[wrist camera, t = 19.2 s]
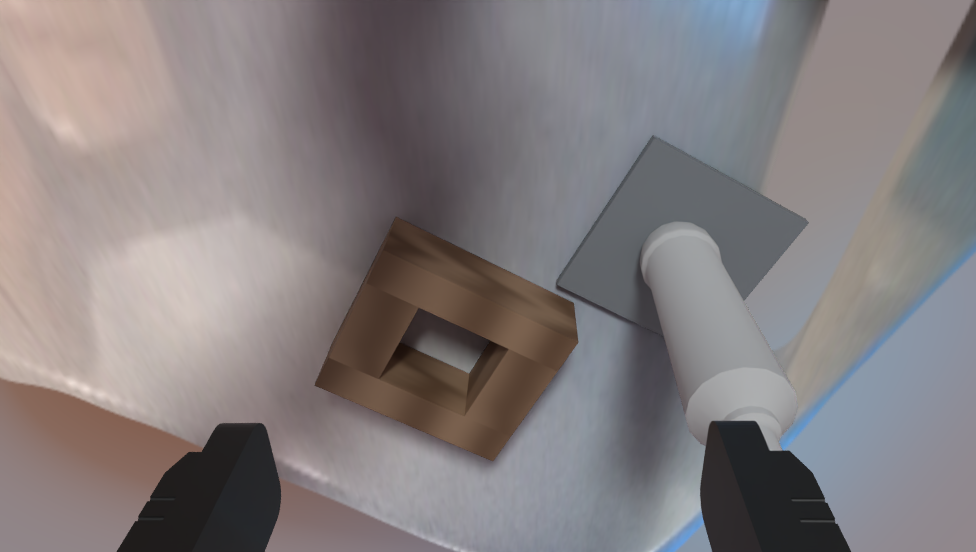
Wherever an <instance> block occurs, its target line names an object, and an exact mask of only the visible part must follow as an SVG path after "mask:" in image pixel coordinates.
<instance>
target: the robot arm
mask: <svg viewBox="0 0 976 552" xmlns="http://www.w3.org/2000/svg"><path fill="white" fill-rule="evenodd" d="M150 498H151V499H150V501H148V502H147V503H146V505H145V506H144V508H143V510H142V511H141V513H140V514H139V516H138V517H139V519H138V521H135V523H134V524H133V526H132V527H131V529H130V531H129V532H128V534H127V536H126V537H125V539H124V540H123V542H122V544H121V545H120V547H119V549H118V550H117V552H265V549H266V547H267V544H268V542H269V539H270V536H271V534H272V531H273V529H274V526H275V523H276V521H277V518H278V515H279V510H280V503H281V488H280V481H279V477H278V473H277V469H276V465H275V461H274V457H273V453H272V449H271V445H270V441H269V437H268V433H267V430H266V428H265V426H264V425H263V424H262V423H221V424H219V425H218V426H217V427H216V428H215V430H214V431H213V433H212V435H211V436H210V438H209V440H208V442H207V443H206V445H205V447H204V449H203V450H202V452H188V453H187V454H186V455H185V456H184V457H183V458H181V459H180V460H179V461H178V462H177V463H176V464H175V465H173V466H172V467H171V468H170V469H169V470H168V471H167V472H165V474H164V475H163V477H162V479H161V480H160V482H159V483H158V485H157V487H156V488H155V490H154V492H153V493H152V495H151V496H150ZM700 498H701V509H702V515H703V520H704V524H705V527H706V531H707V534H708V538H709V542H710V545H711V548H712V552H851V551H850V548H849V546H848V544H847V542H846V540H845V538H844V536H843V534H842V532H841V530H840V528H839V526H838V524H835V518H834V516H833V514H832V512H831V510H830V508H829V506H828V503H825V498H824V495H823V494H822V491H821V489H820V487H819V485H818V483H817V481H816V479H815V477H814V475H813V473H812V472H811V471H810V470H809V469H808V468H807V467H806V466H805V465H804V464H803V463H802V462H800V460H799V459H797V458H796V457H795V456H794V455H793V454H792V453H791V452H790V451H770V450H769V447H768V445H767V443H766V440H765V438H764V436H763V434H762V431H761V429H760V427H759V425H758V423H757V422H756V421H711V422H710V424H709V428H708V435H707V442H706V449H705V456H704V463H703V471H702V478H701V487H700Z"/></svg>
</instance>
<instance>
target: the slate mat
mask: <svg viewBox="0 0 976 552" xmlns="http://www.w3.org/2000/svg"><path fill="white" fill-rule="evenodd" d="M675 221H678V222H690V223H692V224H694V225H696V226H698V227H701V228H703V229H704V230H706V232H707V233H708V234H709V235H710V236H711V238H712V239H713V240H714V241H715V243H716V244H717V246H718V247H719V251H720V256H721V260H722V264H723V266H724V267H725V269H726V271H727V273H728V274H729V276H730V278H731V280H732V281H733V283H734V285H735V287H736V288H737V290H738V292H739V294H740V295H741V297H742V299H743V300H745V299H746V298H747V297H748V295H749V294H750V293H751V292H752V291H753V289H754V288H755V287H756V286H757V285H758V283H759V282H760V281H761V280H762V279H763V277H764V276H765V275H766V274H767V273H768V271H769V270H770V269H771V268H772V266H773V265H774V264H775V263H776V262H777V261H778V259H779V258H780V257H781V256H782V254H783V253H784V252H785V251H786V250H787V249H788V247H789V246H790V245H791V243H792V242H793V241H794V240H795V239H796V238H797V236H798V235H799V234H800V233H801V232H802V230H803V229H804V228H805V227H806V226H807V224H808V223H809V222H808V221H807V220H806V219H805V218H803V217H801V216H799V215H797V214H796V213H794V212H792V211H790V210H788V209H786V208H785V207H783V206H781V205H779V204H777V203H776V202H774V201H772V200H770V199H768V198H767V197H765V196H763V195H761V194H759V193H757V192H756V191H754V190H752V189H750V188H748V187H747V186H745V185H743V184H741V183H739V182H737V181H736V180H734V179H732V178H730V177H728V176H727V175H725V174H723V173H721V172H719V171H717V170H716V169H714V168H712V167H710V166H708V165H707V164H705V163H703V162H701V161H699V160H697V159H696V158H694V157H692V156H690V155H688V154H687V153H685V152H683V151H681V150H679V149H677V148H676V147H674V146H672V145H670V144H668V143H667V142H665V141H663V140H661V139H659V138H657V137H656V136H654V135H653V136H652V137H651V139H650V140H649V142H648V143H647V145H646V146H645V148H644V149H643V151H642V152H641V154H640V155H639V157H638V158H637V160H636V161H635V163H634V165H633V166H632V168H631V169H630V171H629V172H628V174H627V175H626V177H625V178H624V180H623V181H622V183H621V184H620V186H619V187H618V189H617V190H616V192H615V193H614V195H613V196H612V198H611V199H610V201H609V202H608V204H607V205H606V207H605V208H604V210H603V211H602V213H601V214H600V216H599V217H598V219H597V220H596V222H595V223H594V225H593V226H592V228H591V229H590V231H589V232H588V234H587V235H586V237H585V238H584V240H583V241H582V243H581V244H580V246H579V247H578V249H577V251H576V252H575V254H574V255H573V257H572V258H571V260H570V261H569V263H568V264H567V266H566V267H565V269H564V270H563V272H562V273H561V275H560V276H559V278H558V279H557V285H558V286H560V287H563V288H565V289H567V290H569V291H571V292H573V293H575V294H577V295H579V296H581V297H583V298H585V299H587V300H589V301H591V302H593V303H595V304H597V305H599V306H601V307H604V308H606V309H608V310H610V311H612V312H614V313H616V314H618V315H620V316H622V317H624V318H626V319H628V320H630V321H632V322H634V323H636V324H638V325H640V326H642V327H645V328H647V329H649V330H651V331H653V332H655V333H657V334H659V335H661V336H663V337H664V335H663V331H662V328H661V324H660V320H659V316H658V313H657V309H656V305H655V302H654V298H653V294H652V291H651V288H650V287H649V286H648V285H647V284H646V283H645V281H644V278H643V274H642V271H641V267H640V256H641V251H642V246H643V244H644V242H645V241H646V239H647V238H648V236H649V235H650V233H652V232H653V231H654V230H656V229H657V228H659V227H660V226H662V225H664V224H668V223H672V222H675Z"/></svg>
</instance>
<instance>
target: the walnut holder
mask: <svg viewBox="0 0 976 552" xmlns="http://www.w3.org/2000/svg"><path fill="white" fill-rule="evenodd" d="M418 308H421V309H423V310H425V311H427V312H430V313H432V314H434V315H436V316H438V317H440V318H443V319H445V320H447V321H449V322H451V323H453V324H456V325H458V326H460V327H462V328H464V329H466V330H469V331H471V332H473V333H475V334H477V335H479V336H482V337H484V338H486V339H488V340H490V342H489V344H488V345H487V347H486V348H485V350H484V352H483V353H482V355H481V356H480V358H479V359H478V361H477V363H476V364H475V366H474V367H473V369H472V370H471V372H470V373H469V374H468V373H466V372H464V371H462V370H460V369H457V368H455V367H453V366H451V365H448V364H446V363H444V362H442V361H439V360H437V359H435V358H433V357H431V356H428V355H426V354H424V353H422V352H419V351H417V350H415V349H413V348H410V347H408V346H406V345H404V344H402V343H399V342H400V340H401V339H402V337H403V335H404V333H405V331H406V330H407V328H408V326H409V324H410V323H411V321H412V319H413V317H414V315H415V314H416V312H417V310H418ZM577 344H578V335H577V327H576V318H575V310H574V303H573V302H571V301H568V300H566V299H564V298H562V297H560V296H558V295H556V294H554V293H552V292H550V291H548V290H546V289H544V288H542V287H540V286H538V285H535V284H533V283H531V282H529V281H527V280H525V279H523V278H521V277H519V276H517V275H515V274H513V273H511V272H509V271H507V270H505V269H502V268H500V267H498V266H496V265H494V264H492V263H490V262H488V261H486V260H484V259H482V258H480V257H478V256H476V255H474V254H472V253H469V252H467V251H465V250H463V249H461V248H459V247H457V246H455V245H453V244H451V243H449V242H447V241H445V240H443V239H441V238H439V237H436V236H434V235H432V234H430V233H428V232H426V231H424V230H422V229H420V228H418V227H416V226H414V225H412V224H410V223H408V222H406V221H403V220H401V219H399V218H397V217H396V218H395V220H394V222H393V224H392V226H391V228H390V230H389V232H388V234H387V236H386V238H385V240H384V242H383V244H382V246H381V248H380V250H379V252H378V254H377V256H376V258H375V260H374V262H373V264H372V266H371V268H370V270H369V272H368V274H367V275H366V277H365V279H364V281H363V283H362V285H361V287H360V289H359V291H358V293H357V295H356V297H355V299H354V301H353V303H352V305H351V307H350V309H349V311H348V313H347V315H346V317H345V319H344V321H343V323H342V325H341V327H340V329H339V331H338V333H337V335H336V337H335V339H334V341H333V343H332V345H331V347H330V350H329V352H328V355H327V357H326V359H325V362H324V364H323V366H322V369H321V371H320V373H319V376H318V378H317V381H316V383H315V386H317V387H319V388H322V389H324V390H326V391H329V392H331V393H333V394H336V395H338V396H340V397H343V398H345V399H348V400H350V401H352V402H355V403H357V404H359V405H362V406H364V407H366V408H369V409H371V410H373V411H376V412H378V413H380V414H383V415H385V416H387V417H390V418H392V419H395V420H397V421H399V422H402V423H404V424H406V425H409V426H411V427H413V428H416V429H418V430H420V431H423V432H425V433H427V434H430V435H432V436H434V437H437V438H439V439H442V440H444V441H446V442H449V443H451V444H453V445H456V446H458V447H460V448H463V449H465V450H467V451H470V452H472V453H474V454H477V455H479V456H481V457H484V458H486V459H489V460H491V461H494V459H495V458H496V456H497V455H498V454H499V452H500V451H501V449H502V448H503V447H504V445H505V444H506V443H507V441H508V440H509V438H510V437H511V436H512V434H513V433H514V431H515V430H516V429H517V427H518V426H519V424H520V423H521V422H522V420H523V419H524V417H525V416H526V415H527V413H528V412H529V410H530V409H531V408H532V406H533V405H534V403H535V402H536V401H537V399H538V398H539V396H540V395H541V394H542V392H543V391H544V390H545V388H546V387H547V385H548V384H549V383H550V381H551V380H552V378H553V377H554V376H555V374H556V373H557V371H558V370H559V369H560V367H561V366H562V364H563V363H564V362H565V360H566V359H567V357H568V356H569V355H570V353H571V352H572V350H573V349H574V348H575V346H576V345H577Z"/></svg>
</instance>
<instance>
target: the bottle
mask: <svg viewBox="0 0 976 552" xmlns="http://www.w3.org/2000/svg"><path fill="white" fill-rule="evenodd" d="M640 267H641V271H642V274H643V278H644V281H645V283H646V284H647V285H648V286H649V287H650V288H651V291H652V294H653V298H654V302H655V305H656V309H657V313H658V316H659V320H660V324H661V328H662V331H663V335H664V339H665V342H666V346H667V350H668V354H669V357H670V361H671V365H672V368H673V372H674V376H675V379H676V383H677V387H678V391H679V394H680V398H681V402H682V405H683V409H684V413H685V417H686V420H687V424H688V428H689V431H690V433H691V434H692V435H693V436H694V437H695V438H696V439H697V440H698V441H699V442H700V443H701V444H703V445H705V446H706V442H707V435H708V428H709V424H710V422H711V421H756V422H757V423H758V425H759V427H760V429H761V431H762V434H763V436H764V438H765V440H766V443H767V445H768V447H769V450H770V451H783V450H782V448H781V446H780V443H779V440H780V437H781V436H782V435H783V434H784V433H785V432H786V431H787V429H788V428H789V427H790V426H791V425H792V424H793V421H794V418H795V415H796V412H797V410H798V403H797V398H796V392H795V390H794V388H793V386H792V384H791V383H790V381H789V379H788V377H787V376H786V374H785V372H784V370H783V369H782V367H781V365H780V363H779V362H778V360H777V358H776V356H775V355H774V353H773V351H772V349H771V348H770V346H769V344H768V343H767V341H766V339H765V337H764V335H763V334H762V332H761V330H760V328H759V327H758V325H757V323H756V321H755V320H754V318H753V316H752V314H751V313H750V311H749V309H748V307H747V306H746V304H745V302H744V300H743V299H742V297H741V295H740V294H739V292H738V290H737V288H736V287H735V285H734V283H733V281H732V280H731V278H730V276H729V274H728V273H727V271H726V269H725V267H724V266H723V264H722V260H721V256H720V251H719V247H718V246H717V244H716V243H715V241H714V240H713V239H712V238H711V236H710V235H709V234H708V233H707V232H706V230H704V229H703V228H701V227H698V226H696V225H694V224H692V223H690V222H678V221H675V222H672V223H668V224H664V225H662V226H660V227H659V228H657V229H656V230H654V231H653V232H652V233H650V235H649V236H648V238H647V239H646V241H645V242H644V244H643V246H642V251H641V256H640Z"/></svg>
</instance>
